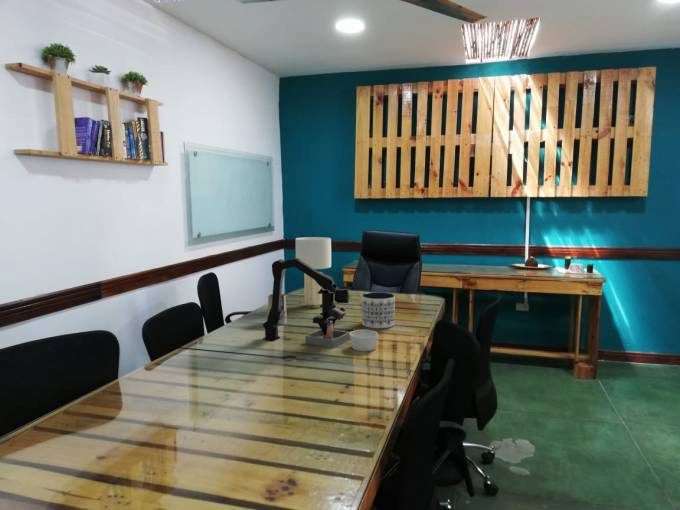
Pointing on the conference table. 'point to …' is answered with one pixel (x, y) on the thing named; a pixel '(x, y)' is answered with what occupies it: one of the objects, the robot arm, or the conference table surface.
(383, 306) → the planter
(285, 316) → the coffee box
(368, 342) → the ramekin
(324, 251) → the lamp
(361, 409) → the conference table surface
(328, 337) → the shaker
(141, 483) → the conference table surface
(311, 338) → the tray
